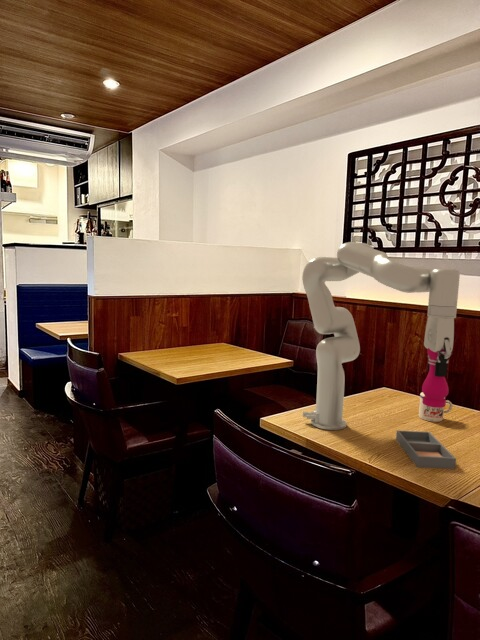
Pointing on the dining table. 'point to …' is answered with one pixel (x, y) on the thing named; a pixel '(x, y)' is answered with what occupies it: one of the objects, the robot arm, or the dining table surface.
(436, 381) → the pepper mill
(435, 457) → the tray
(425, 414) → the teacup with lid
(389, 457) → the dining table surface
